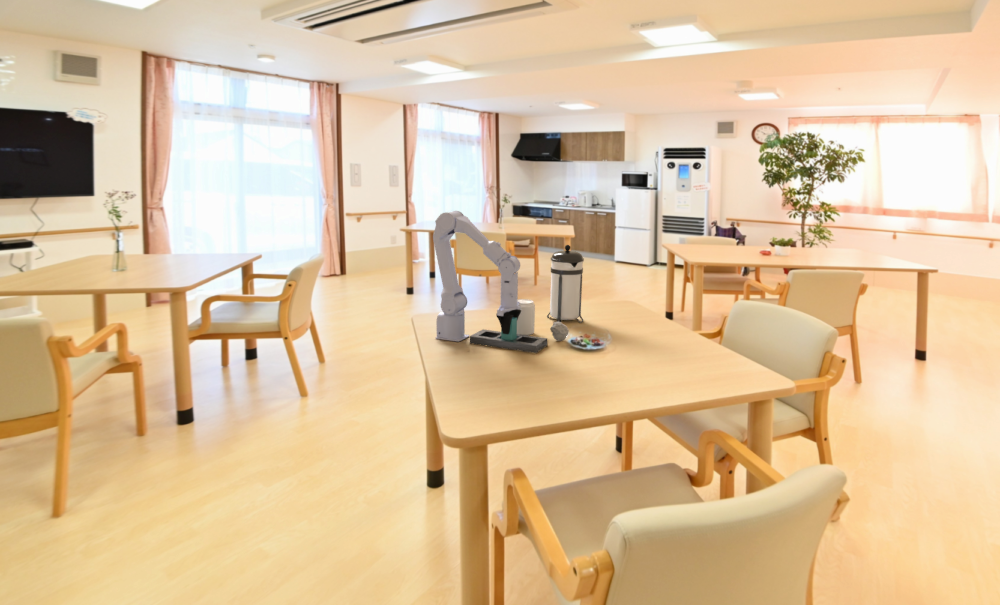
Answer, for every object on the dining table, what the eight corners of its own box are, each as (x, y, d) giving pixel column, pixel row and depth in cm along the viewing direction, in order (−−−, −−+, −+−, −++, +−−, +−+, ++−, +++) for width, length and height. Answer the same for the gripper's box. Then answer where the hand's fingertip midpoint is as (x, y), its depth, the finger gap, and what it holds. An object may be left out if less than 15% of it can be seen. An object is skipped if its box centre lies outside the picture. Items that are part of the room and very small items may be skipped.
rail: (469, 343, 205) (469, 336, 205) (483, 336, 214) (483, 329, 214) (536, 353, 195) (536, 345, 195) (547, 345, 204) (547, 338, 204)
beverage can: (538, 332, 220) (539, 300, 217) (527, 337, 213) (527, 304, 210) (519, 329, 224) (519, 297, 221) (507, 334, 217) (508, 301, 215)
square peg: (501, 341, 203) (501, 318, 202) (505, 338, 207) (506, 316, 205) (511, 343, 202) (512, 320, 200) (516, 340, 205) (517, 317, 204)
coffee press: (591, 318, 241) (594, 244, 234) (573, 327, 228) (577, 248, 221) (552, 312, 250) (555, 240, 243) (533, 320, 237) (535, 244, 230)
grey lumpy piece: (545, 341, 209) (546, 321, 208) (559, 337, 214) (559, 318, 212) (559, 344, 205) (560, 325, 203) (572, 340, 210) (573, 321, 208)
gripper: (511, 298, 193) (510, 338, 196) (528, 290, 206) (527, 328, 209) (491, 296, 196) (491, 336, 199) (509, 288, 208) (509, 326, 211)
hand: (508, 332), depth 204 cm, fingers closed on square peg, 4 cm apart
